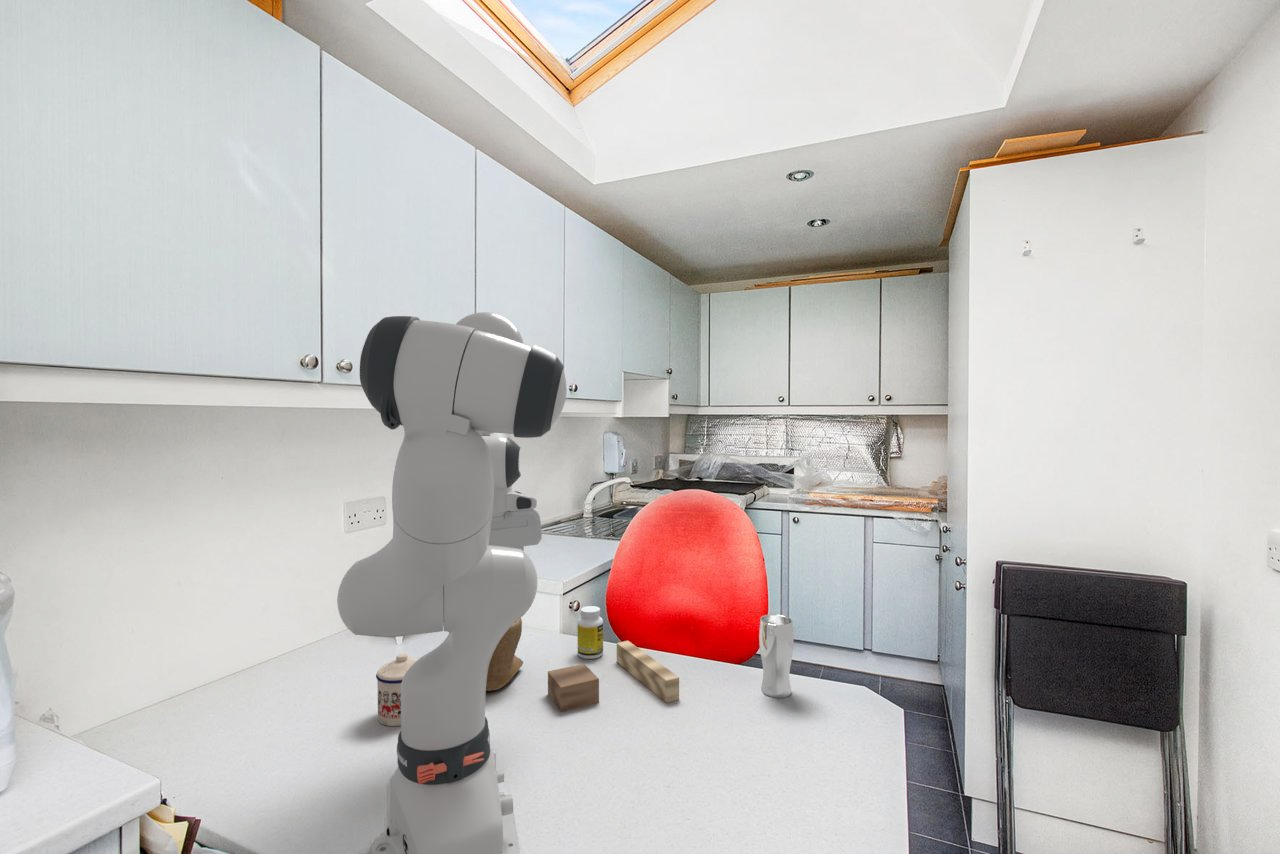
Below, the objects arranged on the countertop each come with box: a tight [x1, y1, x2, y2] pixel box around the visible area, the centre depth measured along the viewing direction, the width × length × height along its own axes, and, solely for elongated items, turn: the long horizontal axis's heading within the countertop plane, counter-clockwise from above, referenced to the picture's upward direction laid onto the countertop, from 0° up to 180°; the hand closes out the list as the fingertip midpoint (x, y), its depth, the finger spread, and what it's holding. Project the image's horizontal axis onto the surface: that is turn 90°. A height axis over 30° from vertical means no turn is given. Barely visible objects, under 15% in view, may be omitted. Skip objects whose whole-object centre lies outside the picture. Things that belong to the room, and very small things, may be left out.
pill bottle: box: [576, 605, 604, 660], centre depth 139 cm, size 6×6×11 cm
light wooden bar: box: [616, 640, 680, 704], centre depth 126 cm, size 22×3×4 cm, turn 29°
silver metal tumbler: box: [758, 613, 795, 699], centre depth 120 cm, size 7×7×15 cm
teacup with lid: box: [375, 653, 419, 727], centre depth 111 cm, size 12×9×12 cm
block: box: [547, 663, 600, 713], centre depth 118 cm, size 8×8×5 cm
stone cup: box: [486, 617, 524, 692], centre depth 126 cm, size 15×12×15 cm
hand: (489, 573), depth 111 cm, fingers open, 8 cm apart
